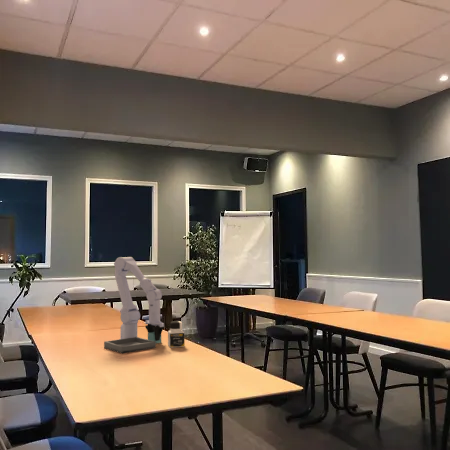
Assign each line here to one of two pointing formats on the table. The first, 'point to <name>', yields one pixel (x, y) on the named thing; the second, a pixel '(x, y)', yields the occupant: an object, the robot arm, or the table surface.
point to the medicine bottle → (176, 335)
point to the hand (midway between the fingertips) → (154, 339)
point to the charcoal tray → (129, 344)
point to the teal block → (153, 337)
